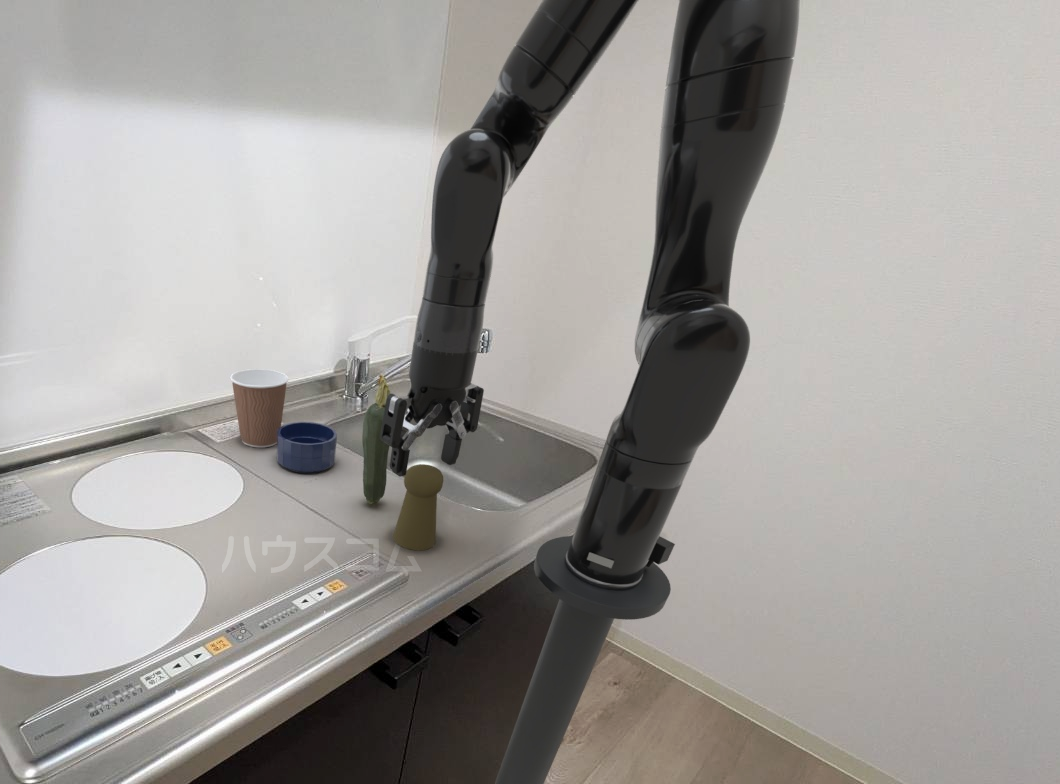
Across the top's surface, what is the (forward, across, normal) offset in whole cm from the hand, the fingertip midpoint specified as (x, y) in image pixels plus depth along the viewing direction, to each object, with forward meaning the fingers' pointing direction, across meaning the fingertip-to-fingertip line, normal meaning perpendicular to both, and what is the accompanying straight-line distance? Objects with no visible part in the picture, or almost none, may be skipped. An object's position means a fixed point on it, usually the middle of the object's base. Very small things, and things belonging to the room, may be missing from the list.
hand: (423, 468), depth 77 cm
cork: (+11, 0, 0) cm, 11 cm away
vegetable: (+11, 0, +11) cm, 16 cm away
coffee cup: (+12, -4, +41) cm, 43 cm away
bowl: (+11, -1, +29) cm, 31 cm away
